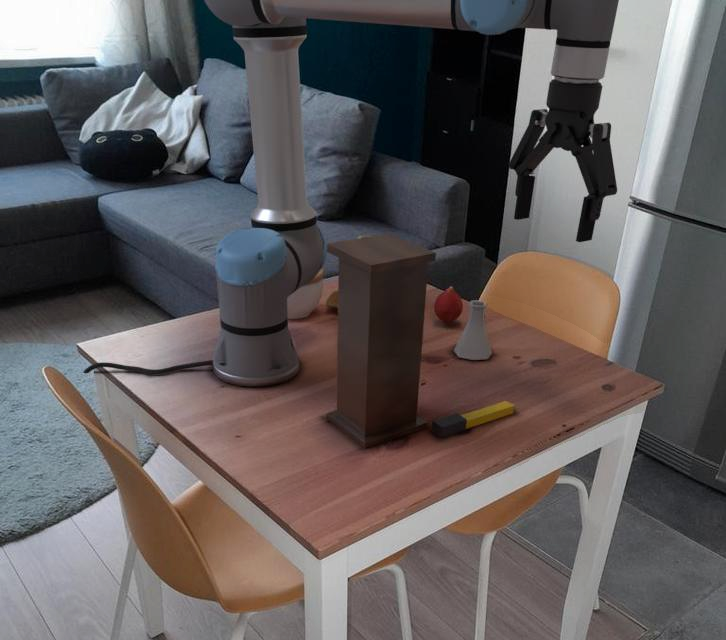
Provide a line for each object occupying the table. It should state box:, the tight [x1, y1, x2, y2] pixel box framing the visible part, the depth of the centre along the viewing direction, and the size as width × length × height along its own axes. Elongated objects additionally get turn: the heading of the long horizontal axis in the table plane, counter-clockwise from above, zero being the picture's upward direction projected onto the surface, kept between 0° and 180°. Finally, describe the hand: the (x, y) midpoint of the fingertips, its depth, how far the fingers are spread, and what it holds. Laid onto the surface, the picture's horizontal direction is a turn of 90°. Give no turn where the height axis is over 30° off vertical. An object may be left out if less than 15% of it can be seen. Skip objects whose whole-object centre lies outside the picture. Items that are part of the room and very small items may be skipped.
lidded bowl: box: [287, 267, 325, 320], centre depth 163 cm, size 13×13×11 cm
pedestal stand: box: [325, 232, 437, 449], centre depth 120 cm, size 12×11×28 cm
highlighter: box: [430, 400, 515, 439], centre depth 128 cm, size 16×3×2 cm, turn 124°
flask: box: [453, 299, 493, 361], centre depth 149 cm, size 7×7×10 cm
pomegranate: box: [433, 286, 464, 325], centre depth 161 cm, size 6×6×8 cm
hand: (551, 229), depth 126 cm, fingers open, 13 cm apart
